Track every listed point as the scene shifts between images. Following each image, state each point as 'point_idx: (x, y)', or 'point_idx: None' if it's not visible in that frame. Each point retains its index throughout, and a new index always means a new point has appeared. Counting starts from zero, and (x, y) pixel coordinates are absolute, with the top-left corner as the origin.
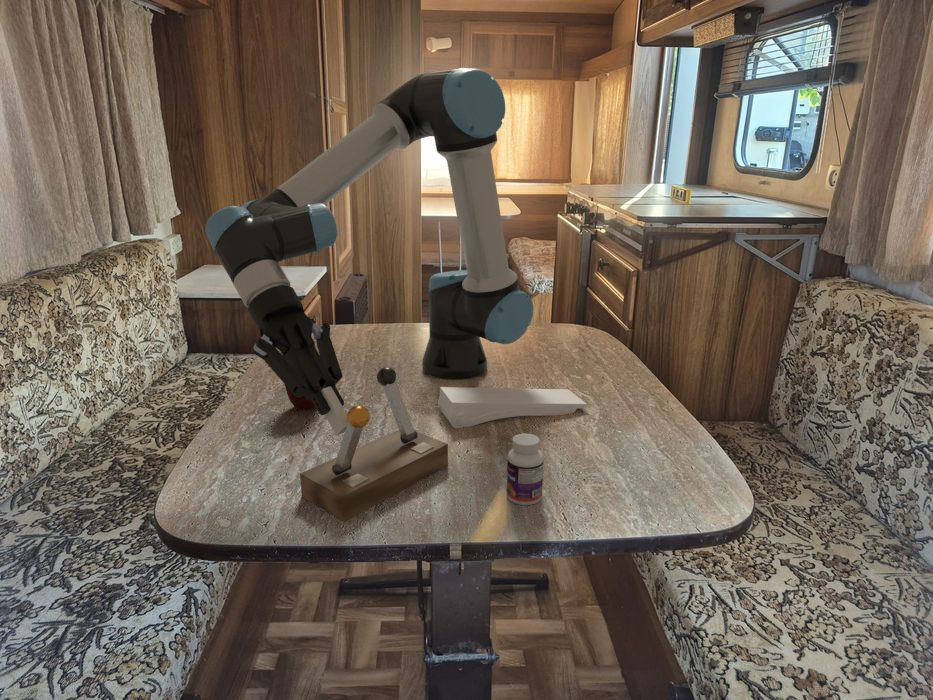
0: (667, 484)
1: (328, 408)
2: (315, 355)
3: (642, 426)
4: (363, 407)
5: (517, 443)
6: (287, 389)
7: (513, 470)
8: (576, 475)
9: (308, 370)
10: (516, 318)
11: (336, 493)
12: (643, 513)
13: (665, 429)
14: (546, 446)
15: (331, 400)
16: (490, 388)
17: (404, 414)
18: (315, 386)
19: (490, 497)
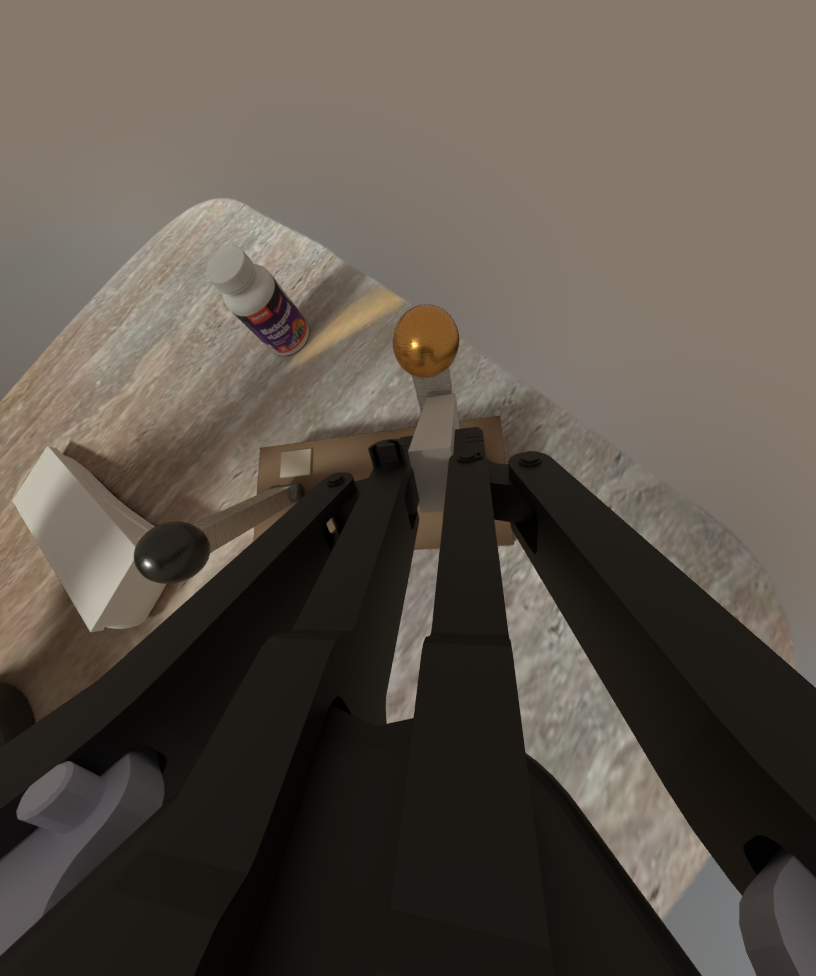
0: (183, 271)
1: (461, 431)
2: (350, 571)
3: (76, 374)
4: (407, 314)
5: (243, 260)
6: None
7: (280, 296)
8: (215, 337)
9: (464, 506)
10: None
11: (501, 432)
12: (245, 247)
13: (73, 353)
14: (171, 412)
15: (443, 425)
16: (56, 569)
17: (254, 499)
18: (475, 454)
19: (316, 359)
